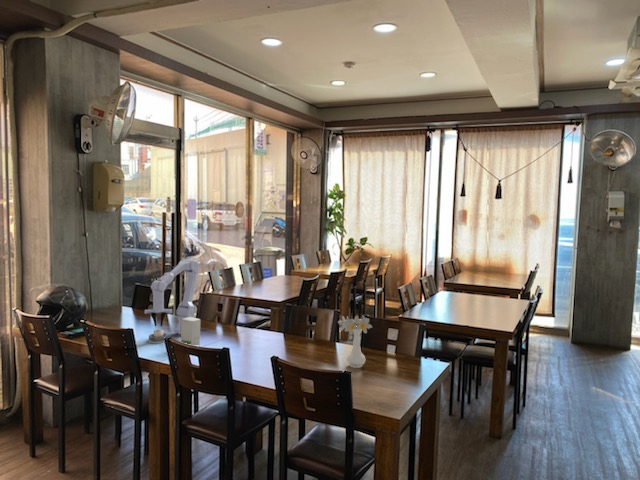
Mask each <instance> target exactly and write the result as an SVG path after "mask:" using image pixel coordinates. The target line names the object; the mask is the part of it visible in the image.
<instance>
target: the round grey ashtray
mask: <svg viewBox="0 0 640 480" xmlns="http://www.w3.org/2000/svg"><path fill="white" fill-rule="evenodd" d="M164 337H168V338H169V334H168V333H164V336H162V337H154V333H151V334H149V336H148V340H147V342H148V343H150V344H163V343H165V342H164Z"/></svg>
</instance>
